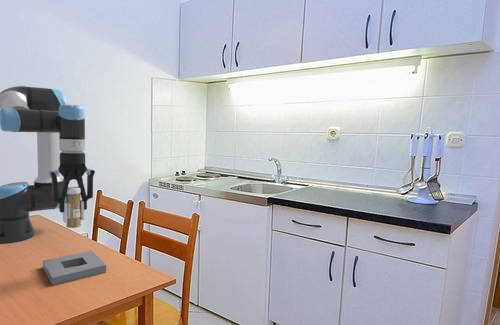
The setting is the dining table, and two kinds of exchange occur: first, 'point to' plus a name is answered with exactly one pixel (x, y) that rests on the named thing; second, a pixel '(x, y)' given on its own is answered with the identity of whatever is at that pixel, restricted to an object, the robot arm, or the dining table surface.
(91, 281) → the dining table surface
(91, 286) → the dining table surface
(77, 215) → the sprinkles bottle
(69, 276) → the socket plate
